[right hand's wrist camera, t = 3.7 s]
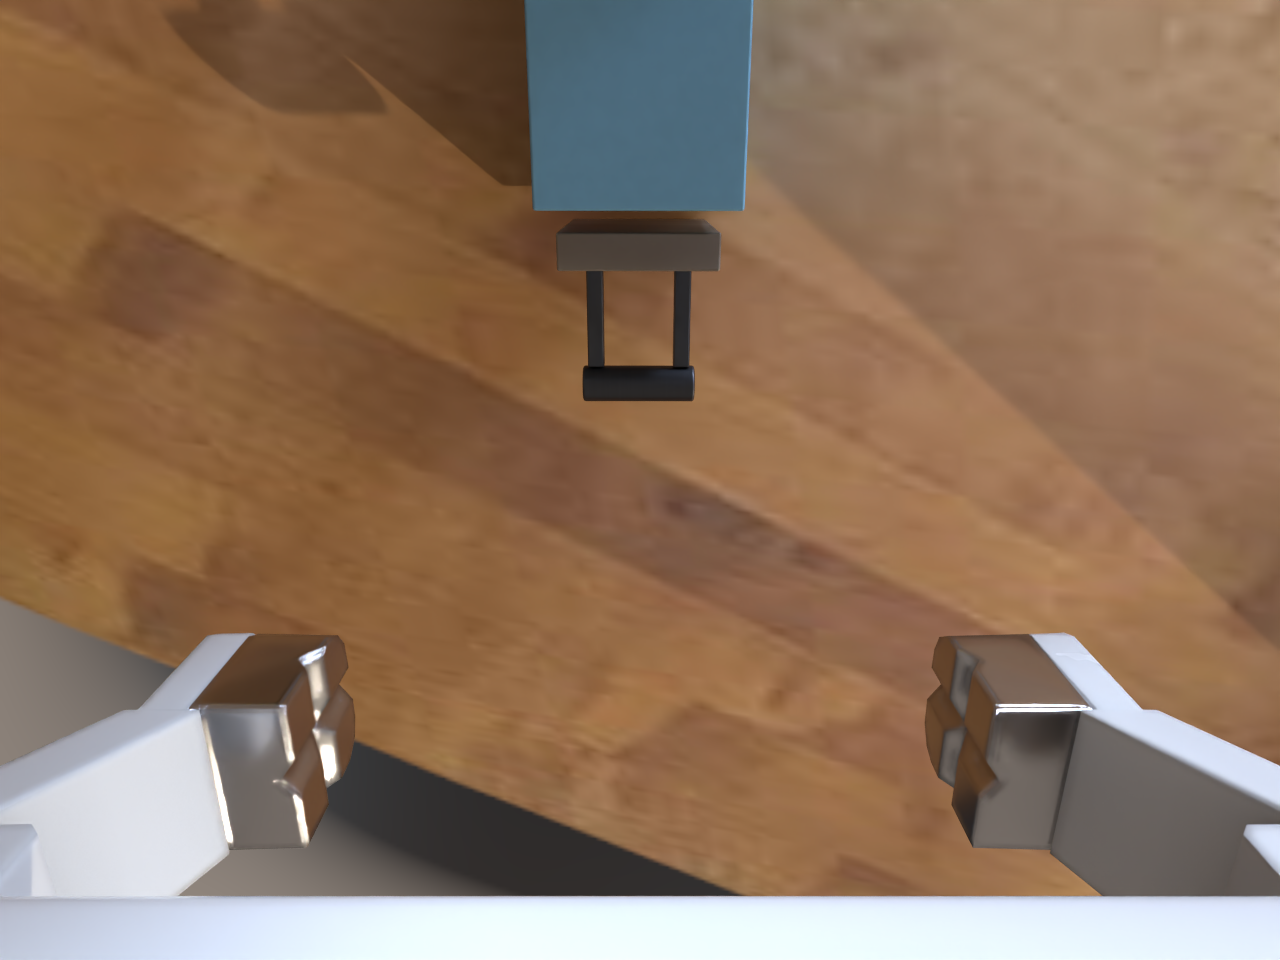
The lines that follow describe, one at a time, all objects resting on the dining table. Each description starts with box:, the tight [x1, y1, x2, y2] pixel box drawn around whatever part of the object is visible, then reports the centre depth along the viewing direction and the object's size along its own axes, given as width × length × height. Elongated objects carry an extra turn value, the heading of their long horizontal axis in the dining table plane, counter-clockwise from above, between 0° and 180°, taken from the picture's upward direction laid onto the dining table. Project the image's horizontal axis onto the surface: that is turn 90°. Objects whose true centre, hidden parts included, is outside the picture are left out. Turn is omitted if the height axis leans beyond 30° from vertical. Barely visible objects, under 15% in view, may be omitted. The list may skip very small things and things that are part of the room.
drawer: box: [556, 219, 721, 401], centre depth 29 cm, size 20×5×7 cm, turn 0°
